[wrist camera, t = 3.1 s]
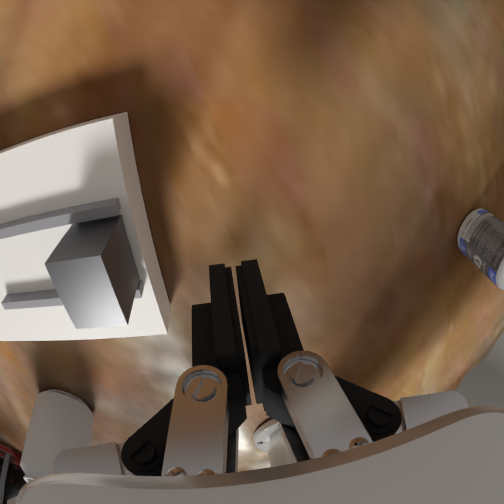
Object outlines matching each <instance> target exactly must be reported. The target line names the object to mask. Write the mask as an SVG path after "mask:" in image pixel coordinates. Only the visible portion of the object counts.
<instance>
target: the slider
mask: <svg viewBox="0 0 504 504" xmlns="http://www.w3.org/2000/svg"><path fill="white" fill-rule="evenodd" d="M44 264H45V266H46V269H47V271H48V273H49V275H50V278H51V280H52V282H53V284H54V286H55V289H56V291H57V293H58V295H59V297H60V299H61V301H62V303H63V305H64V307H65V309H66V311H67V313H68V315H69V317H70V319H71V320H72V322H73V324H74V326H75V328H76V329H84V328H100V327H115V326H128V323H129V319H130V314H131V310H132V306H133V302H134V297H135V293H136V289H137V285H138V282H139V278H140V277H139V273H138V270H137V267H136V264H135V260H134V257H133V254H132V250H131V247H130V243H129V240H128V236H127V233H126V229H125V225H124V222H123V218H122V215H117V216H113V217H107V218H102V219H96V220H91V221H85V222H80V223H74V224H72V226H71V227H70V228H69V230H68V231H67V232H66V234H65V235H64V236H63V238H62V239H61V240H60V242H59V243H58V245H57V246H56V247H55V249H54V250H53V252H52V253H51V255H50V256H49V258H48V259H47V261H46V262H45V263H44Z"/></svg>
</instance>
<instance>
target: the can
mask: <svg viewBox="0 0 504 504" xmlns="http://www.w3.org/2000/svg"><path fill="white" fill-rule="evenodd" d="M93 422H94V415H93V413H92V412H91V410H90V409H89V408H88V406H87V405H86V403H84V402H83V401H82V400H81V399H79V398H78V397H76V396H74V395H72V394H70V393H68V392H65V391H62V390H56V389H51V390H47V391H43V392H41V393H39V394H38V396H37V399H36V402H35V406H34V409H33V412H32V416H31V420H30V423H29V427H28V431H27V435H26V439H25V444H24V448H23V453H22V457H21V462H20V466H21V468H22V469H23V471H24V473H25V476H24V477H23V478H24V480H25V481H26V482H29V481H31V480H33V479H35V478H38V477H41V476H45V475H50V474H54V472H53V462H54V459H55V457H56V455H57V454H59V453H60V452H61V451H64V450H66V449H74V448H81V447H88V446H90V441H91V434H92V428H93Z"/></svg>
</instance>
